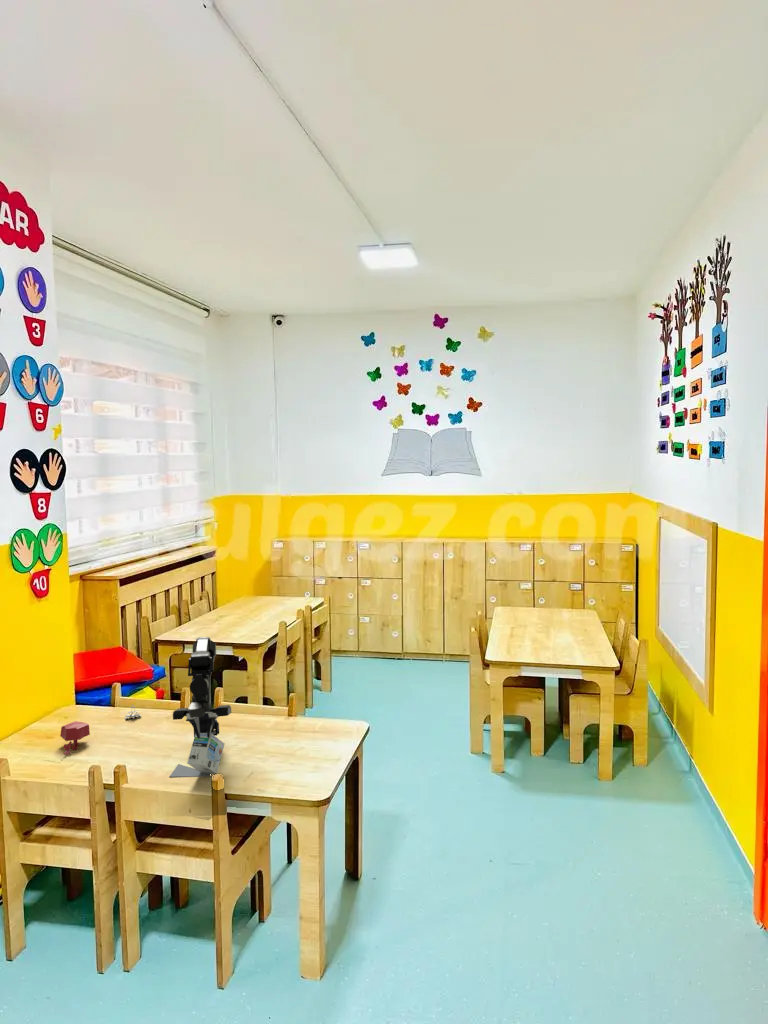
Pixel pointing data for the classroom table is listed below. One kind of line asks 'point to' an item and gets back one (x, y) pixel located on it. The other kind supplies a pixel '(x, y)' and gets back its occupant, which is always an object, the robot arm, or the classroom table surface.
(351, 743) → the classroom table surface
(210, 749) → the light bulb box
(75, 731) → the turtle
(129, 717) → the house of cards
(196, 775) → the slate mat
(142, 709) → the classroom table surface
